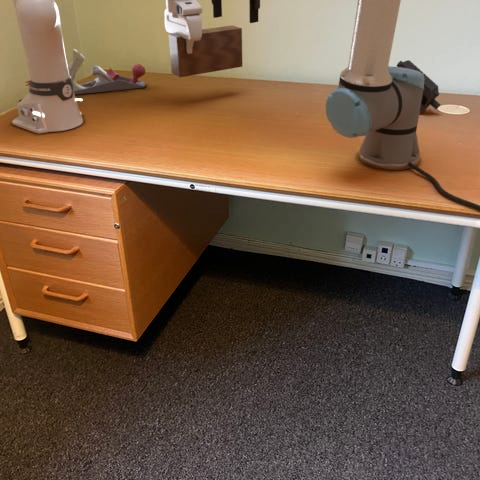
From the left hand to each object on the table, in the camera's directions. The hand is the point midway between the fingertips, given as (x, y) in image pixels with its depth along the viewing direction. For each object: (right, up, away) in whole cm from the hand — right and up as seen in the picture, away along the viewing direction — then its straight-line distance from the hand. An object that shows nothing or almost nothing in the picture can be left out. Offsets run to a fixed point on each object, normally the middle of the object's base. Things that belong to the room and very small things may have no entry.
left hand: (184, 51), depth 172 cm
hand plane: (-32, -5, +26) cm, 41 cm away
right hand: (+17, -1, -26) cm, 31 cm away
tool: (+72, -19, 0) cm, 75 cm away
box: (+7, -4, +7) cm, 11 cm away
